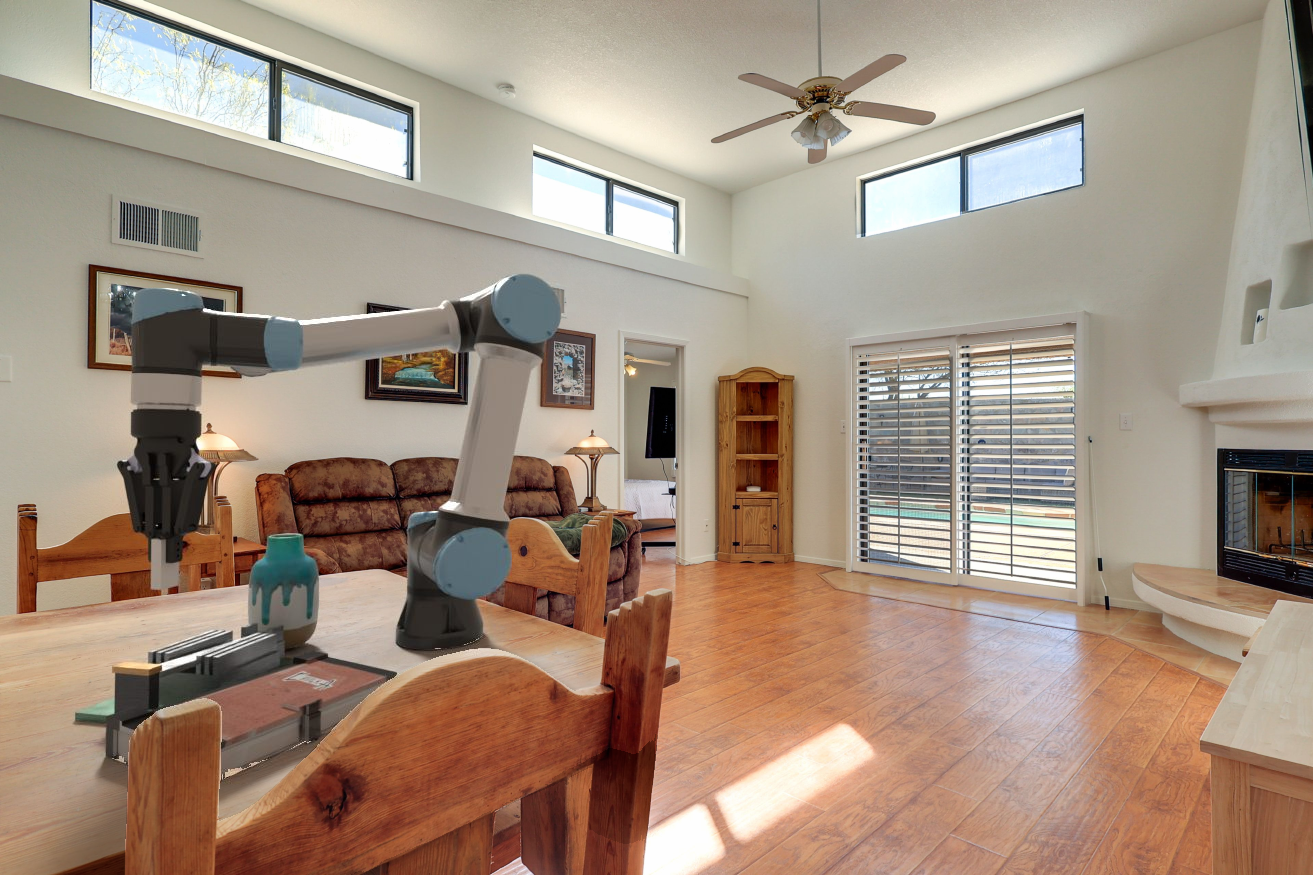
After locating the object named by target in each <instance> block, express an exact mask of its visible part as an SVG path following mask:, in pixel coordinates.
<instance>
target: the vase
mask: <svg viewBox="0 0 1313 875" xmlns="http://www.w3.org/2000/svg"><path fill="white" fill-rule="evenodd" d="M266 540H267V541H266V548H265V550H266V551H265V554H264V556H262V558H261V559H259V560H256V562H255V563H254V564H253V566H252V567H251V570H250V574H249V580H248V581H249V582H248V593H247V594H248V596H247V617H248V618H247V620H248V624H251V623H258V633H262V634H264V633H267V629H268V628H271V627H274V626H276V625H284V626H283V640H285V649H284V650H288V649H292V648H296V647H298V646H302V645H303V644H305V643H306V642H308V641H309V640H310V639H311V638H312V637H313V635H314V633H315V631H316V628H317V626H318V625H317V624H318V620H319V619H318V618H319V617H318V616H319V607H320V576H319V568H318V567H319V566H318V563H317V562H316V560H315V559H314V558H313V557H312V556H308V554H306V551H305V546H304V535H303V534H302V533H280V534H279V533H278V534H271V535H269V536H267V539H266Z"/></svg>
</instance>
